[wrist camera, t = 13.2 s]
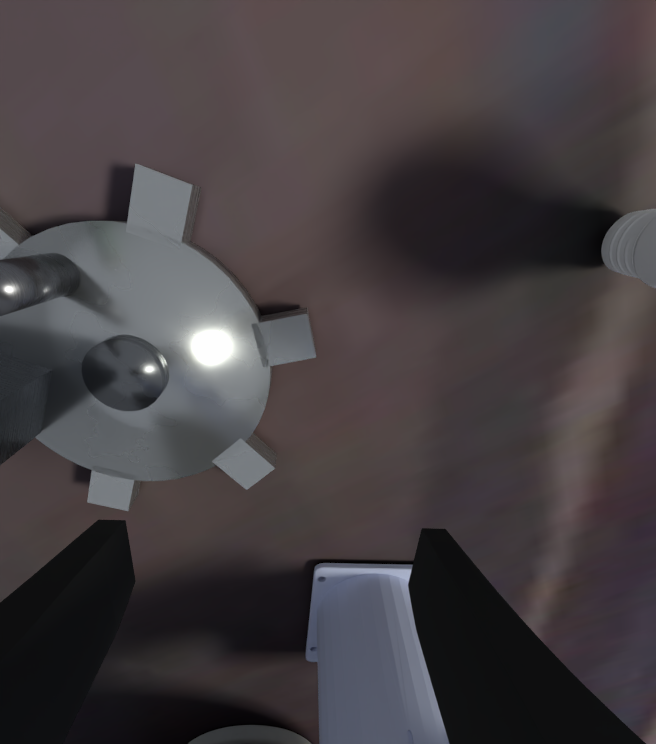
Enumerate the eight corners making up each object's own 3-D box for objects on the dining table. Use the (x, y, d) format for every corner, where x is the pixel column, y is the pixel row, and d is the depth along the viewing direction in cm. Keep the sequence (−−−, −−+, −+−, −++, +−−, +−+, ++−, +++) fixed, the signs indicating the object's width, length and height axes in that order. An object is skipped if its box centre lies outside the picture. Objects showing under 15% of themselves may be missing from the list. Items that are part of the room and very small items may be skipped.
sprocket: (381, 315, 17) (408, 349, 12) (214, 536, 21) (191, 616, 17) (19, 58, 12) (-134, -26, 8) (-90, 403, 17) (-224, 466, 13)
